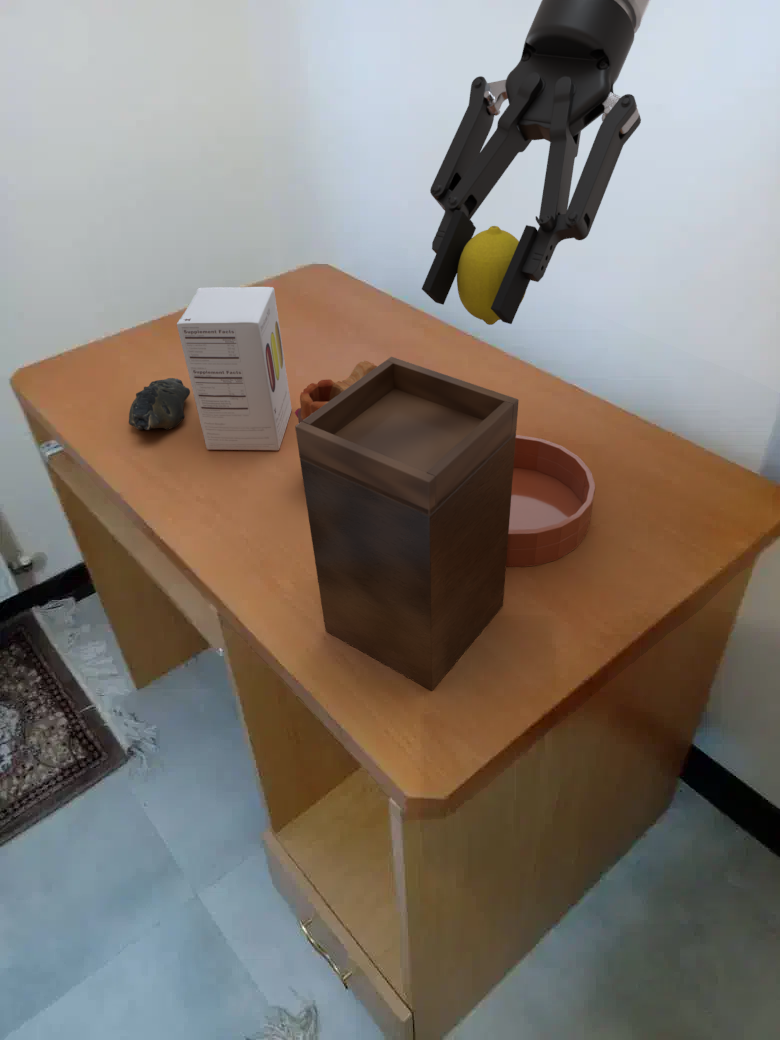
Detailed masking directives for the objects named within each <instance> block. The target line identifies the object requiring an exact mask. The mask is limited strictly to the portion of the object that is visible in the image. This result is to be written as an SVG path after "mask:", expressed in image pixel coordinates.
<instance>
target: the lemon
mask: <svg viewBox="0 0 780 1040" xmlns="http://www.w3.org/2000/svg"><path fill="white" fill-rule="evenodd" d="M519 241H520V240H518V239H517V237H515V236H514V235H513V234H512V233H510V232H508V231H507V230H504V229H501V228H500V227H499V226H498V225H491V226H489V227H488V229H485V230H482V231H480V232H478V233H477V234H474V235H473V237H472V239H470V240H469V242H468V243H467V244H466V246H465V247H464V249H463V252H462V254H461V257H460V260H459V264H458V270H457V274H456V287H457V293H458V297H459V300H460V302H461V304H462V305H463V307H464V309H465V310H466V311H467V312H468V313H469V314H470V315H471V316H473V317H474V318H476V319H479V320H480V321H483V322H484V323H485V324H486V325H488V326H491V325H494V324H496V323H497V322H498V321H500V320H501V319H500V318H499V317H498V316H497V315H496V314H495V313H494V312H493V310H492V309H491V306H492V304H493V302H494V299H495V297H496V295H497V292H498V290H499V288H500V285H501V283H502V281H503V278H504V276H505V273H506V271H507V269H508V266H509V264H510V262H511V259H512V257H513V255H514V252H515V250H516V248H517V245H518V243H519ZM526 293H527V290H526V291H525V294H524V296H523V298H522V301H521V303H520V305H521V304H522V302H523V300H524V298H525V295H526ZM501 321H502V320H501Z"/></svg>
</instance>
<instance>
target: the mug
mask: <svg viewBox="0 0 780 1040" xmlns="http://www.w3.org/2000/svg"><path fill="white" fill-rule="evenodd" d="M377 366H378V365H376V364H375V363H374V362H371V361H369V360H361V361H360V362H358V363H357V364H356V365H355V367H354V368H353V370H352V371H351V373H350V375H349V376H348V377H347V378H346V379H344V380H343V381H340V380H339V381H336V382H335V381H333V380H332V379H321V380H319V381H318V382H317V383H314V382H312V383H311V382H310V383H309V384H308V385H307V386H306V388H304V389H303V391H301V393H300V395H299V403H300V407H299V408H297V409H296V410H295V411H294V414H295V417H296V418H297V421H298V424H299V423H300V422H302V421H303V420H304V419H306V418H307V417H308V416H310V415H311V414H312V413H314V412H315V411H317V410H318V409H319V408H321V407H322V406H324V405H325V404H326V403H328V402H329V401H330V400H332V399H333V398H335V397H336V396H337V395H339V394H340V393H341V392H343V391H344V390H346V389H347V388H348V387H350V386H351V385H353V384H354V383H355V382H357V381H358V380H359V379H361V378H362V377H364V376H365V375H366V374H368V373H369V372H371V371H372V370H373V369H375V368H376V367H377Z"/></svg>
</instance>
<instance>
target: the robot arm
mask: <svg viewBox="0 0 780 1040" xmlns="http://www.w3.org/2000/svg"><path fill="white" fill-rule="evenodd" d="M651 1H652V0H541V2H540V4H539V6H538V9H537V11H536V13H535V15H534V18H533V21H532V23H531V25H530V28H529V29H528V32H527V34H526V36H525V40H524V43H523V48H522V53H521V56H520V60H519V62H518V63H517V65H516V66H515V67H514V68H513V69H512V70H511V71H510V72H509V73H508V74H507V77H506V79H502V80H497V81H492V82H488V81H487V79H486V78H485V77H484V76H483V75H479V76H476V77H475V78H474V79H473V80H472V82H471V85H470V92H469V100H468V106H467V108H466V110H465V112H464V114H463V116H462V119H461V121H460V123H459V125H458V128H457V129H456V132H455V135H454V136H453V138H452V141H451V143H450V145H449V147H448V149H447V152H446V154H445V156H444V158H443V160H442V163H441V165H440V167H439V169H438V171H437V173H436V175H435V177H434V180H433V182H432V183H431V184H432V185H431V186H430V189H429V191H430V195H431V196H432V197H433V199H434V200H435V201H436V203H438V205H439V206H440V207H441V208H442V210H443V211H444V213H443V216H442V219H441V221H440V222H439V226H438V228H437V231H436V233H435V236H434V237H433V240H432V243H431V245H432V246H431V250H432V251H433V252H434V253H435V256H434V257H433V261H432V263H431V265H430V268H429V270H428V273H427V275H426V277H425V280H424V282H423V284H422V287H421V291H423V292H424V293H425V294H426V295H427V296H428V297H429V298H430V299H431V300H432V301H433V302H434V303H436V304H440V305H445V303H446V300H447V298H448V295H449V293H450V291H451V289H452V286H453V284H454V281H455V279H456V278H457V270H458V264H459V260H460V257H461V254H462V252H463V249H464V247H465V246H466V244H467V243H468V242H469V240H470V239H472V238H473V237H474V235H475V232H476V229H477V227H476V226H475V225H474V222H473V221H472V220H471V219H472V218H473V216H474V215H475V213H476V212H477V211H478V209H479V208H481V207H480V206H481V205H482V204H483V203H484V201H485V200H486V199H487V197H488V195H489V194H490V193H491V192H492V190H493V189H494V187H495V186H496V185H497V183H498V182H499V180H500V179H501V178H502V176H503V175H504V173H505V172H506V171H507V169H508V168H509V166H510V165H511V164H512V162H513V161H514V160H515V158H516V157H517V156H518V154H519V153H523V152H524V151H525V150H526V149H527V148H528V147H529V145H530V144H531V143H532V141H539V140H546V141H548V142H549V148H548V156H547V162H546V169H545V175H544V182H543V190H542V195H541V202H540V209H539V215H538V216H537V215H536V216H535V221H536V223H537V224H538V226H539V227H538V229H537V227H536V226H532V225H528V224H526V225H525V227H524V229H523V232H522V234H521V237H520V238H519V240H518V241H519V243H518V245H517V248H516V250H515V252H514V255H513V257H512V259H511V262H510V264H509V266H508V269H507V271H506V273H505V276H504V278H503V281H502V283H501V285H500V288H499V290H498V292H497V295H496V297H495V299H494V302H493V304H492V306H491V309H492V310H493V312H494V313H495V314H496V315H497V316H498V317H499V318H500V319H501V322H502V323H505V324H509V325H512V324H513V322H514V319H515V317H516V315H517V312H518V311H519V307H520V306H521V304H522V302H523V300H522V298H523V296H524V294H525V295H526V293H525V291H526V292H527V288H528V287H529V284H530V282H531V281H532V282H535V283H539V282H540V281H541V280H542V278H543V277H544V275H545V273H546V271H547V268H548V266H549V264H550V262H551V260H552V257H553V256H554V255H553V254H554V252H555V250H556V247H557V246H558V244H559V243H561V242H562V241H564V240H568V239H574V240H576V241H584V240H585V239H586V238H587V237H588V236H589V234H590V232H591V229H592V227H593V225H594V222H595V219H596V217H597V214H598V211H599V209H600V207H601V205H602V200H604V199H603V198H604V196H605V193H606V191H607V188H608V186H609V184H610V180H611V178H612V175H613V173H614V170H615V168H616V166H617V162H618V160H619V158H620V155H621V153H622V150H623V148H624V145H626V143H627V141H628V140H629V139H630V138H631V136H633V134H634V133H635V132H636V130H637V129H638V128H639V126H640V124H641V122H642V118H641V115H640V111H639V108H638V105H637V101H636V99H635V96H634V95H633V94H631V93H627V94H623V95H622V96H620V95H618V94H616V93H614V85H615V83H616V82H617V81H618V78H619V76H620V74H621V71H622V70H623V67H624V64H625V62H626V60H627V58H628V56H629V53H630V51H631V48H632V46H633V44H634V41H635V34H636V33H637V32H638V31H639V28H640V27H641V25H642V22H643V20H644V17H645V15H646V13H647V11H648V8H649V6H650V3H651ZM505 101H508V106H507V107H506V109H505V110H504V111H503V112H502V114H501V107H502V105H503V103H504V102H505ZM500 114H501V116H500V117H499V118H498V121H497V125H496V126H497V127H496V129H495V131H494V132H493V133H492V135H491V136H490V137H489V139H488V140H487V138H488V136H489V135H490V132H491V129H492V127H493V123H494V120H495V116H499V115H500ZM599 117H601V121H602V122H601V124H600V126H599V128H598V130H597V132H596V135H595V138H594V141H593V143H592V145H591V148H590V151H589V153H588V156H587V158H586V161H585V164H584V166H583V167H582V171H581V173H580V176H579V179H578V181H577V184H576V187H575V189H574V192H573V194H572V196H571V199H570V194H571V187H572V180H573V173H574V166H575V160H576V158H577V157H578V153H579V148H580V147H579V146H580V141H581V133H582V131H583V130H584V129H586V128H587V127H588V126H589V125H590V124H592V123H593V122H594V121H595V120H597V119H598V118H599ZM486 141H487V142H486ZM485 142H486V143H485ZM524 297H525V296H524ZM523 299H524V298H523ZM521 301H522V302H521ZM520 303H521V304H520Z"/></svg>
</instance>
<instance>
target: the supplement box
mask: <svg viewBox="0 0 780 1040" xmlns="http://www.w3.org/2000/svg"><path fill="white" fill-rule="evenodd" d="M275 291H276V290H275V288H274V286H236V287H235V286H231V287H229V286H228V287H225V286H222V287H217V286H216V287H215V286H214V287H199V288H197V289H196V291H195V293H194V295H193V297H192V299H191V301H190V303H189V304H188V306H187V308H186V309H185V310H184V312H183V314H182V315H181V317H180V318H179V320H178V321H177V323H176V327H177V332H178V335H179V340H180V344H181V348H182V353H183V356H184V360H185V364H186V368H187V372H188V377H189V380H190V381H189V382H190V385H191V390H192V393H193V397H194V402H195V405H196V410H197V414H198V419H199V422H200V427H201V432H202V435H203V440H204V443H205V448H206V450H216V451H217V450H220V451H222V450H223V451H224V450H228V451H233V450H234V451H237V450H238V451H279V450H280V449H281V445H282V442H283V439H284V436H285V433H286V430H287V426H288V423H289V420H290V417H291V414H292V410H293V409H292V401H291V395H290V388H289V380H288V375H287V368H286V361H285V354H284V348H283V347H284V346H283V340H282V333H281V326H280V320H279V313H278V308H277V307H278V306H277V305H278V304H277V299H276V292H275Z"/></svg>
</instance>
